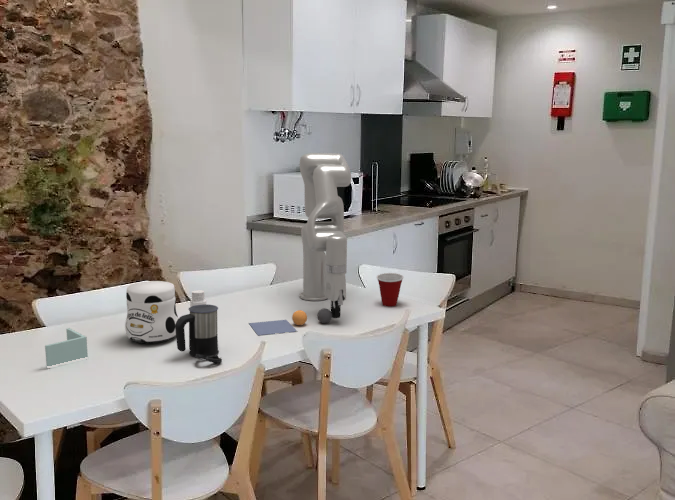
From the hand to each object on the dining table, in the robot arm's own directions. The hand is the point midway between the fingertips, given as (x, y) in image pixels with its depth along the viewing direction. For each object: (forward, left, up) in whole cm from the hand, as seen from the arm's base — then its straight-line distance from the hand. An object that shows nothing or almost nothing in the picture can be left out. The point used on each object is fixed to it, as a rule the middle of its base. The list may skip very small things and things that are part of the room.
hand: (335, 317), depth 238 cm
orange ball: (0, -14, +1) cm, 14 cm away
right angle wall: (+9, -93, -2) cm, 94 cm away
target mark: (0, -24, -2) cm, 24 cm away
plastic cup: (-14, +28, -2) cm, 32 cm away
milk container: (-1, -65, -2) cm, 65 cm away
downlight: (-20, -47, -2) cm, 51 cm away
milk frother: (+22, -51, -2) cm, 55 cm away
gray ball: (0, -4, +1) cm, 4 cm away
